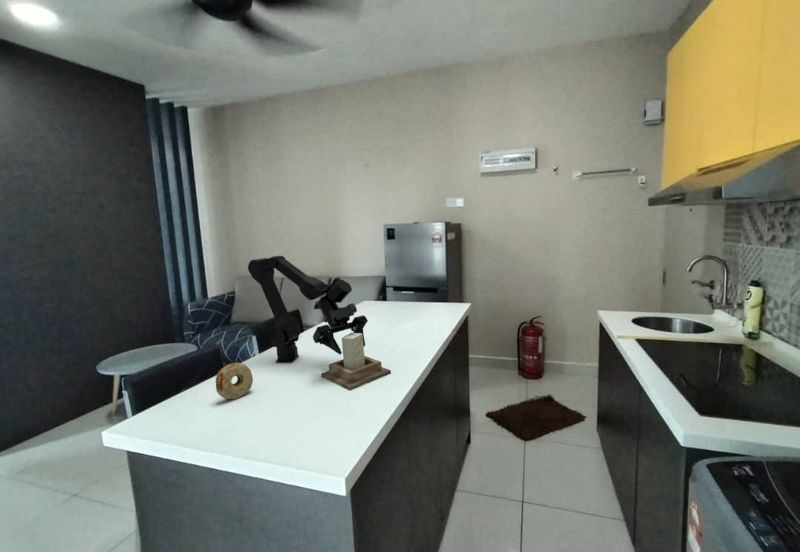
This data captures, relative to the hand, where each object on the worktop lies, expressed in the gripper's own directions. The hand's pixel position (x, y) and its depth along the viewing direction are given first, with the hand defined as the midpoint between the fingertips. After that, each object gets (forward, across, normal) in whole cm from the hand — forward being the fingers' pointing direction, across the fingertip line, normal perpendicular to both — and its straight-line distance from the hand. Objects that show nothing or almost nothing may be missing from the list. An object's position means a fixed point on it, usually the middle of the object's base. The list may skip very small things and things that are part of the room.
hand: (352, 349), depth 122 cm
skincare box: (+6, 0, +5) cm, 8 cm away
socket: (+6, 0, +6) cm, 8 cm away
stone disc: (-4, -32, +16) cm, 36 cm away
